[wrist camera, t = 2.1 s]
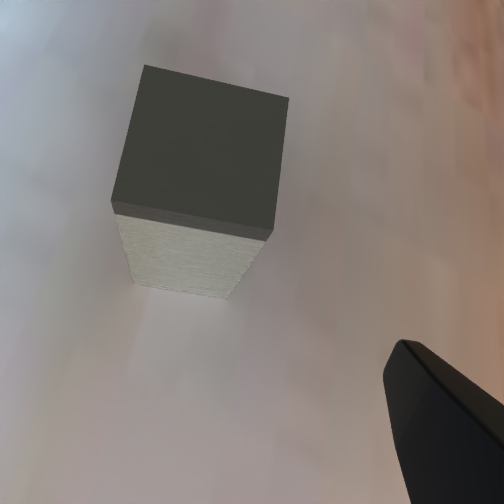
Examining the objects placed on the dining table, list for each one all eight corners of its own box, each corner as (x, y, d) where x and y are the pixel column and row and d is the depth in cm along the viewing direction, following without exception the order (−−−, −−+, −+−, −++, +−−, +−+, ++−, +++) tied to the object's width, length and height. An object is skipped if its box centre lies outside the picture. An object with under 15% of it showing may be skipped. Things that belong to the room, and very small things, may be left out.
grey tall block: (226, 299, 22) (273, 230, 13) (133, 284, 21) (111, 200, 12) (238, 215, 24) (288, 97, 14) (152, 198, 23) (144, 64, 14)
